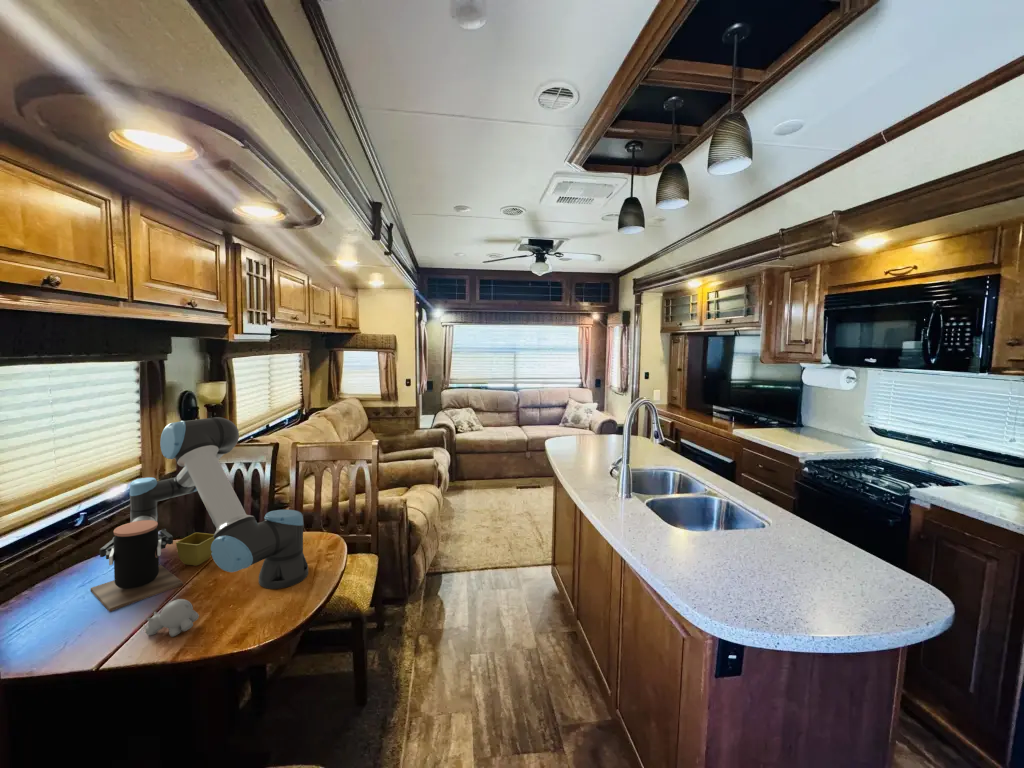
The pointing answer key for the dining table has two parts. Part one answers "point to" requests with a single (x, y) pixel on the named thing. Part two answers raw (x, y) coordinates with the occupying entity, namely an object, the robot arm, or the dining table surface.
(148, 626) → the chubby cartoon animal
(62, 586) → the dining table surface
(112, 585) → the walnut board
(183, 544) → the flower pot
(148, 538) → the coffee jar
